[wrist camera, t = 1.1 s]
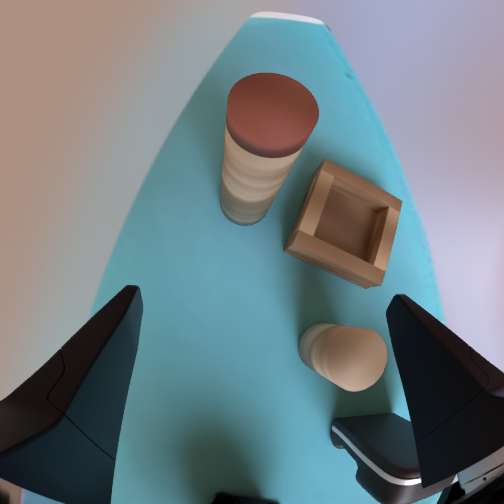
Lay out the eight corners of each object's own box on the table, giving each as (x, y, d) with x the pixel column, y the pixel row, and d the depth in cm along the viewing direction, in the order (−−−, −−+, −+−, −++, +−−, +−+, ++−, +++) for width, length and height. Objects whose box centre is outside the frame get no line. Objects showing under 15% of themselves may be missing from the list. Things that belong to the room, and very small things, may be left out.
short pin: (332, 375, 22) (372, 397, 16) (290, 361, 22) (320, 382, 15) (349, 331, 23) (395, 339, 16) (309, 315, 23) (345, 319, 16)
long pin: (257, 233, 24) (303, 156, 11) (212, 213, 24) (211, 118, 11) (275, 192, 25) (328, 94, 12) (232, 173, 24) (250, 62, 12)
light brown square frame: (365, 288, 24) (381, 286, 21) (283, 251, 24) (292, 244, 21) (387, 210, 26) (402, 200, 23) (314, 171, 25) (324, 157, 23)
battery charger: (322, 452, 21) (382, 521, 10) (330, 416, 22) (401, 476, 11) (386, 443, 22) (458, 491, 10) (394, 410, 22) (476, 448, 11)
